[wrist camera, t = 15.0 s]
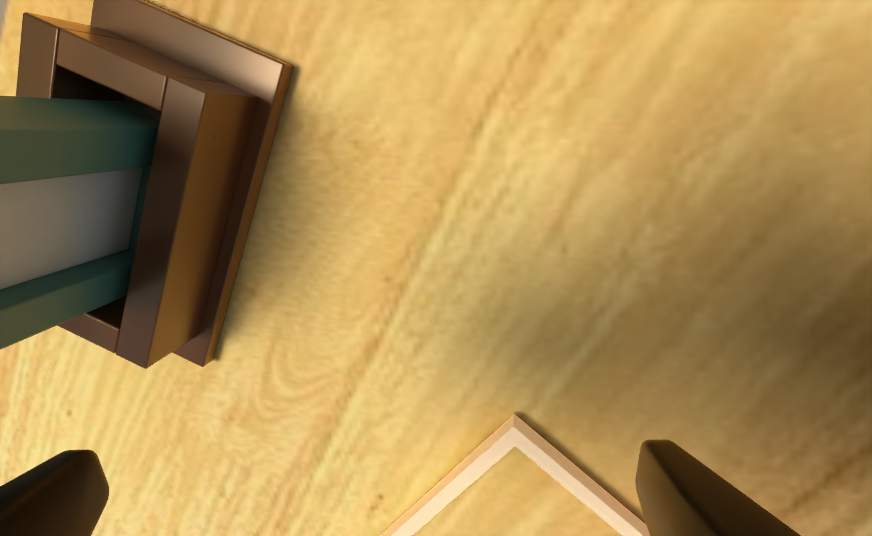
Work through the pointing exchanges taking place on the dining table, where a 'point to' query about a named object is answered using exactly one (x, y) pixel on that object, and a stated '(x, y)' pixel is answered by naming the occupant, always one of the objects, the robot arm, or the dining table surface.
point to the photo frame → (543, 456)
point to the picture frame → (68, 206)
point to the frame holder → (169, 161)
